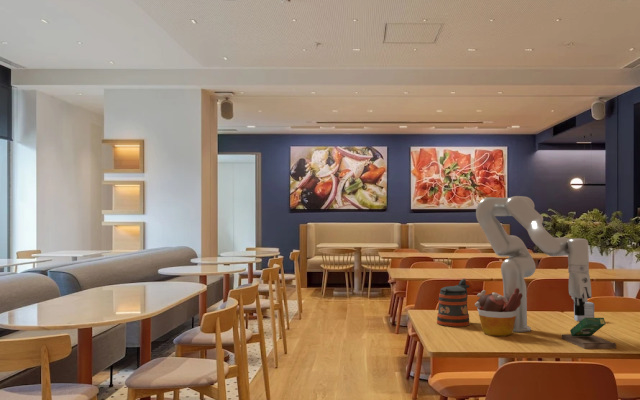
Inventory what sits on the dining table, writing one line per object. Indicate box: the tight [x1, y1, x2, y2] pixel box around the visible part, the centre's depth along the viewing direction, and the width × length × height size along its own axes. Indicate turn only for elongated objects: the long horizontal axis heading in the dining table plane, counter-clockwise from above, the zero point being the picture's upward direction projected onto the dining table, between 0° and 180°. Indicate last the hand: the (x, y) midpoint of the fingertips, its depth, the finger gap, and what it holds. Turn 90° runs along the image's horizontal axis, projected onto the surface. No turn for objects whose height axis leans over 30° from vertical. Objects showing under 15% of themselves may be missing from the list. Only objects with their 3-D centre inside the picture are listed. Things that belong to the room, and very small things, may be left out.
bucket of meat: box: [474, 288, 523, 337], centre depth 235 cm, size 20×16×20 cm
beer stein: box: [436, 278, 470, 328], centre depth 260 cm, size 19×15×20 cm
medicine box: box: [573, 301, 595, 322], centre depth 266 cm, size 8×4×9 cm, turn 84°
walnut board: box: [561, 333, 617, 350], centre depth 217 cm, size 12×18×2 cm, turn 2°
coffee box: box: [569, 317, 607, 336], centre depth 217 cm, size 8×3×13 cm
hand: (579, 315), depth 223 cm, fingers closed
